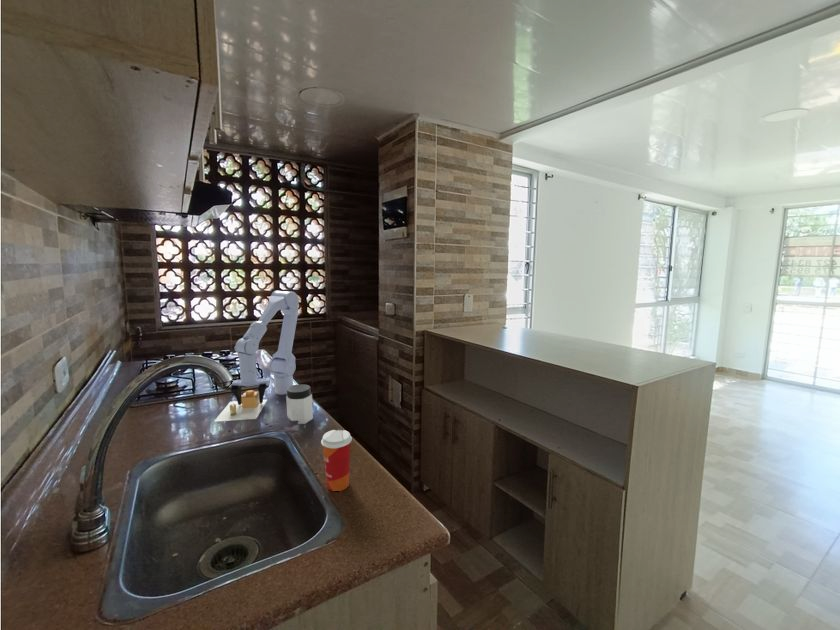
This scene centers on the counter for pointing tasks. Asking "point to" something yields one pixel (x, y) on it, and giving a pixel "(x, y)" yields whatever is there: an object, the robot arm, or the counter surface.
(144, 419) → the counter surface
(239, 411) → the white board
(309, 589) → the counter surface
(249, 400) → the orange domed block
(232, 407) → the post
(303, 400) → the jar
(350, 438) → the paper cup
